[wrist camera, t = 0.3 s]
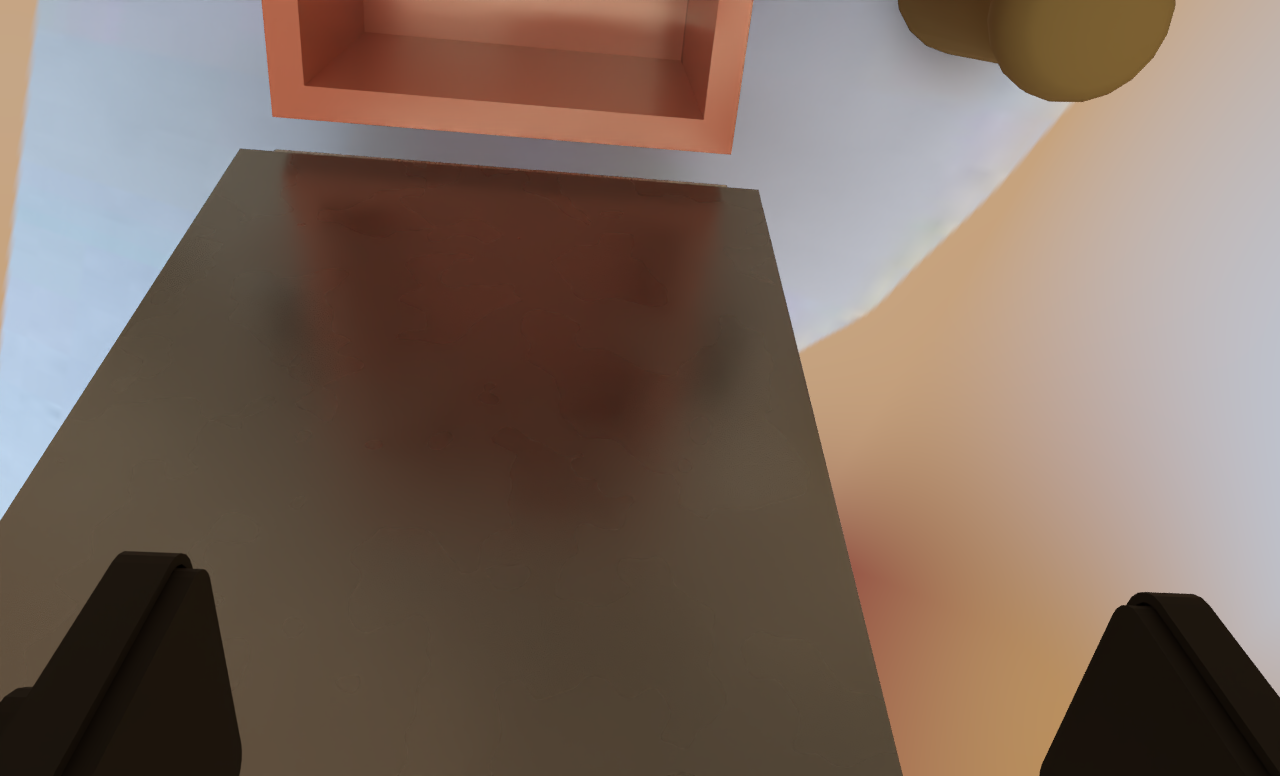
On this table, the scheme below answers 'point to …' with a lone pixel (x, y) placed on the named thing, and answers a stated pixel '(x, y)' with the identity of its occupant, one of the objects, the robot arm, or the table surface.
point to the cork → (1048, 39)
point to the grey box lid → (471, 480)
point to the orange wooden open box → (516, 67)
